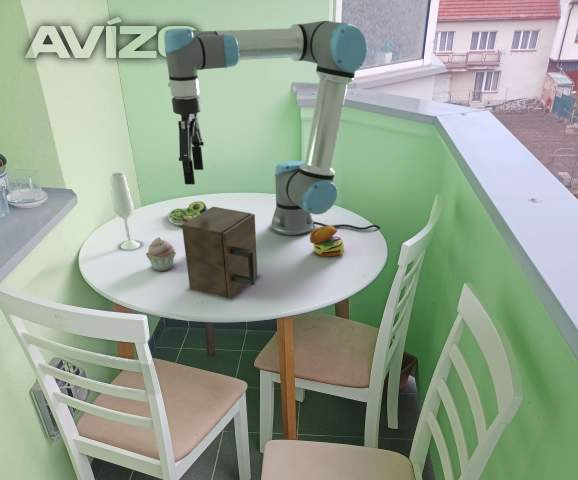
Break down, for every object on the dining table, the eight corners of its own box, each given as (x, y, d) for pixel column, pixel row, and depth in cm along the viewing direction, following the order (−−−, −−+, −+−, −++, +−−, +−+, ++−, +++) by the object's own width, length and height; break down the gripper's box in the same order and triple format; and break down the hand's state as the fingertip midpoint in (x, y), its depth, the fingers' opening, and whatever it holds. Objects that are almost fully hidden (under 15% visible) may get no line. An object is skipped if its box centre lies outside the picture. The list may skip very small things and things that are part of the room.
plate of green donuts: (218, 228, 207) (217, 216, 205) (168, 232, 205) (167, 219, 202) (214, 210, 223) (213, 198, 220) (168, 213, 220) (166, 201, 217)
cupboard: (254, 276, 176) (251, 213, 164) (227, 298, 165) (221, 232, 153) (218, 268, 181) (213, 206, 169) (189, 289, 169) (181, 224, 157)
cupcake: (182, 268, 181) (179, 238, 175) (155, 276, 176) (150, 245, 170) (170, 258, 187) (165, 229, 181) (143, 265, 183) (138, 236, 177)
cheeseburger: (340, 260, 184) (334, 231, 179) (310, 263, 189) (303, 234, 183) (348, 247, 192) (342, 219, 186) (319, 250, 196) (312, 223, 191)
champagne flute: (120, 250, 192) (105, 178, 178) (120, 242, 198) (106, 172, 183) (140, 248, 193) (127, 177, 179) (140, 241, 199) (128, 170, 184)
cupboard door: (277, 280, 173) (275, 217, 161) (251, 303, 162) (247, 238, 150) (254, 275, 176) (251, 213, 164) (227, 298, 164) (222, 233, 153)
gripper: (181, 87, 163) (190, 163, 176) (160, 106, 143) (172, 190, 156) (207, 87, 163) (214, 163, 175) (190, 106, 143) (199, 190, 156)
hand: (194, 176), depth 166 cm, fingers open, 13 cm apart
